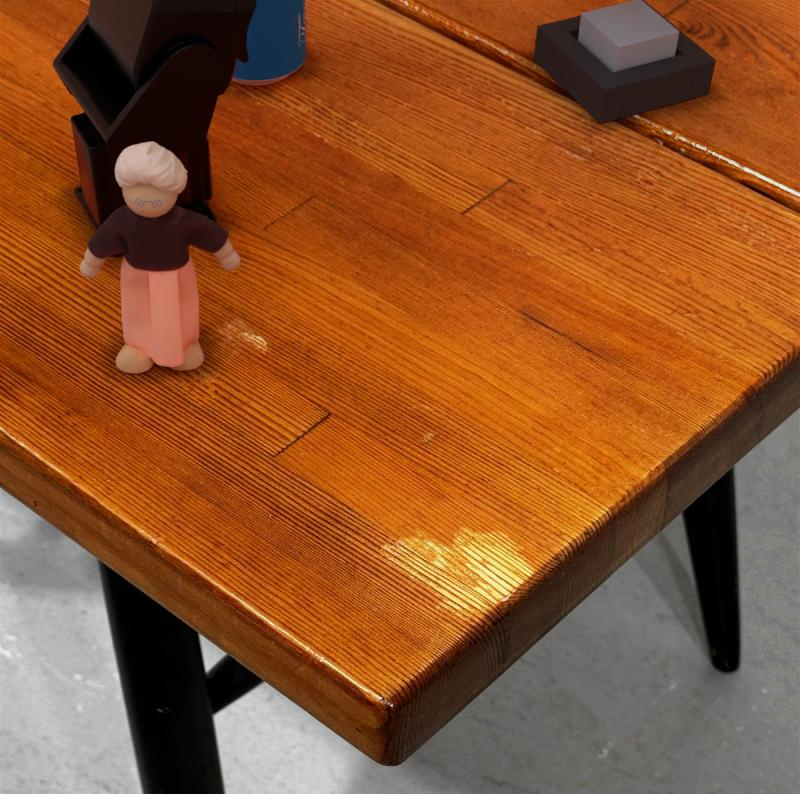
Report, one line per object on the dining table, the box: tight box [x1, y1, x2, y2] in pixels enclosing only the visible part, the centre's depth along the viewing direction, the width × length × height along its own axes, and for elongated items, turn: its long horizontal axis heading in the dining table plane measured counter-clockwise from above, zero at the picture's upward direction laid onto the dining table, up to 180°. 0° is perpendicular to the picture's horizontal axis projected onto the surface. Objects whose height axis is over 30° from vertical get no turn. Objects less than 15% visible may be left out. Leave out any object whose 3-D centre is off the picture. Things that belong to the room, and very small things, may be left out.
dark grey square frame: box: [533, 0, 717, 124], centre depth 94 cm, size 8×8×2 cm
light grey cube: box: [578, 0, 679, 73], centre depth 93 cm, size 4×4×4 cm
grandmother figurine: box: [79, 142, 241, 375], centre depth 71 cm, size 8×4×13 cm, turn 106°
